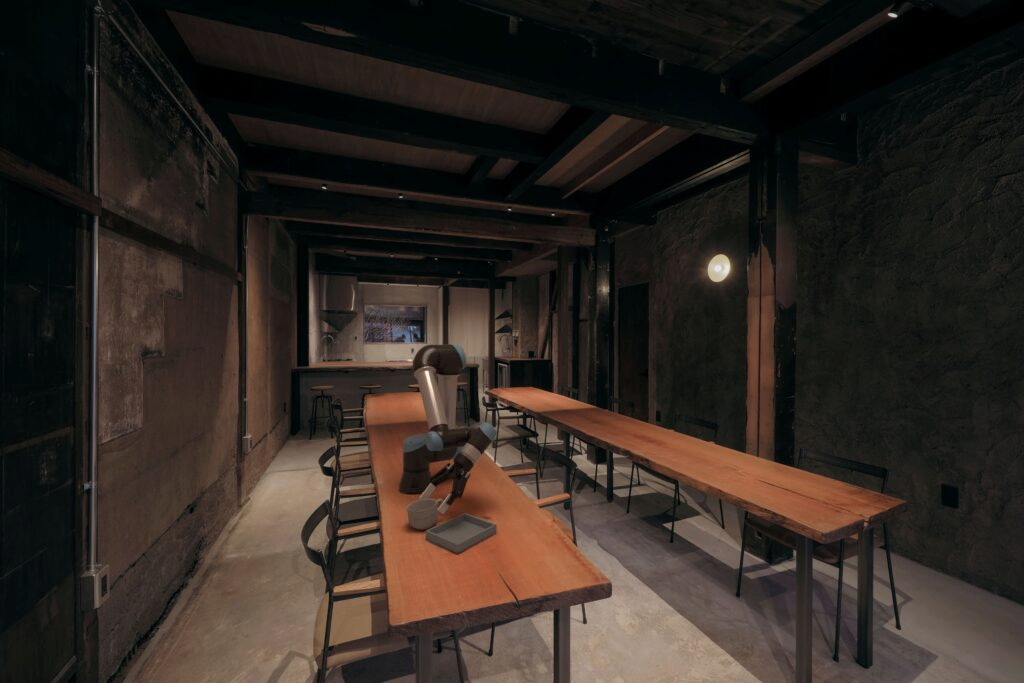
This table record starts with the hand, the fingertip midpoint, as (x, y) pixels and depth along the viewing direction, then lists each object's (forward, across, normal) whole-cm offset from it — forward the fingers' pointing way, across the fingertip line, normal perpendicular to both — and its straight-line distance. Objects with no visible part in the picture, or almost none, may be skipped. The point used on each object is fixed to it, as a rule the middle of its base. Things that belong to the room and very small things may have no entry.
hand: (430, 506), depth 150 cm
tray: (+1, -14, -9) cm, 16 cm away
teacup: (+5, +1, -5) cm, 7 cm away
